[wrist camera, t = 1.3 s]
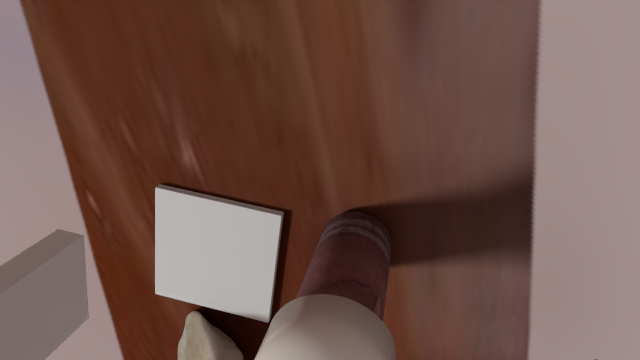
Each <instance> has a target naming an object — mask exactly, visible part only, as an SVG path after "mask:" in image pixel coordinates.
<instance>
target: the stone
mask: <svg viewBox="0 0 640 360" xmlns="http://www.w3.org/2000/svg"><path fill="white" fill-rule="evenodd" d="M178 360H243V355H242V353H241V351H240V350H239V349H238V348H237V346H236V344H235V343H234V341H233V340H232V339H231V338H229V337H228V336H227V335H226V334H225V333H223V332H222V331H220V330H219V329H218V328H216V327H215V326H213V325H211V324H210V323H209V322H208V321H207V320H206V319H205V318H204V317H203V316H202V315H201V314H200V313H199V312H197V311H193V312H191V313H190V314H189V315H188V316H187V318H186V324H185V328H184V332H183V335H182V338H181V340H180V342H179V345H178Z"/></svg>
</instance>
